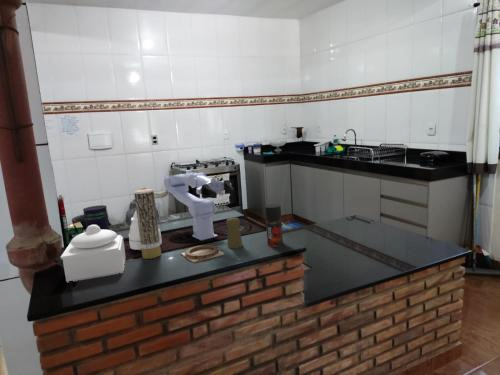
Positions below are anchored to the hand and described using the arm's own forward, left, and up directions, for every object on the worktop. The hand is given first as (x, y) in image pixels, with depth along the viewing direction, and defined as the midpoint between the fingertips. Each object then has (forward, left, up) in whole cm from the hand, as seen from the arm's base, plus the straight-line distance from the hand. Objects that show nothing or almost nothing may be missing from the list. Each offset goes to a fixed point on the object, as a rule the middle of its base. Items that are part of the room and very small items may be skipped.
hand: (224, 193), depth 136 cm
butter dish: (-14, -45, -21) cm, 52 cm away
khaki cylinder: (0, +3, -21) cm, 21 cm away
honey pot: (-29, -23, -21) cm, 43 cm away
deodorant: (+10, +15, -21) cm, 28 cm away
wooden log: (-12, -26, -21) cm, 36 cm away
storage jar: (-53, -37, -21) cm, 69 cm away
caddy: (0, -11, -21) cm, 24 cm away
